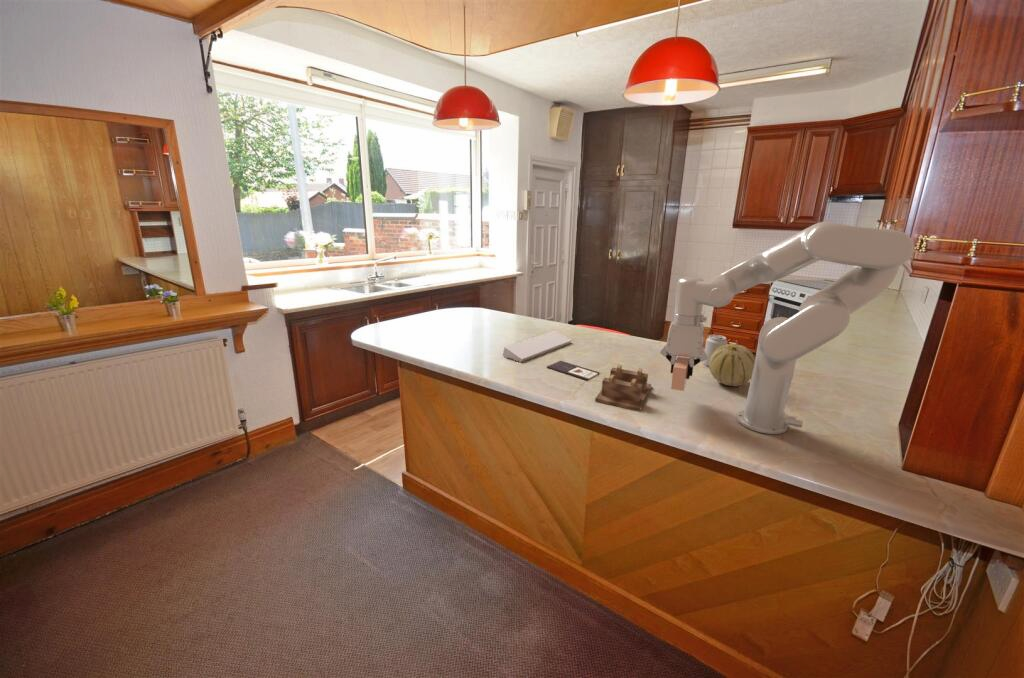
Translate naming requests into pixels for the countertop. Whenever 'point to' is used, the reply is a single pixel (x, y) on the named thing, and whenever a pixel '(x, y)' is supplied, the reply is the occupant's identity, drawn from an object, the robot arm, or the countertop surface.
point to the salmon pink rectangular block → (680, 373)
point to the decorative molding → (536, 346)
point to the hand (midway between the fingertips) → (681, 375)
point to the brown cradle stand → (624, 388)
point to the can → (713, 345)
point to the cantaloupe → (732, 364)
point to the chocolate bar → (573, 370)
